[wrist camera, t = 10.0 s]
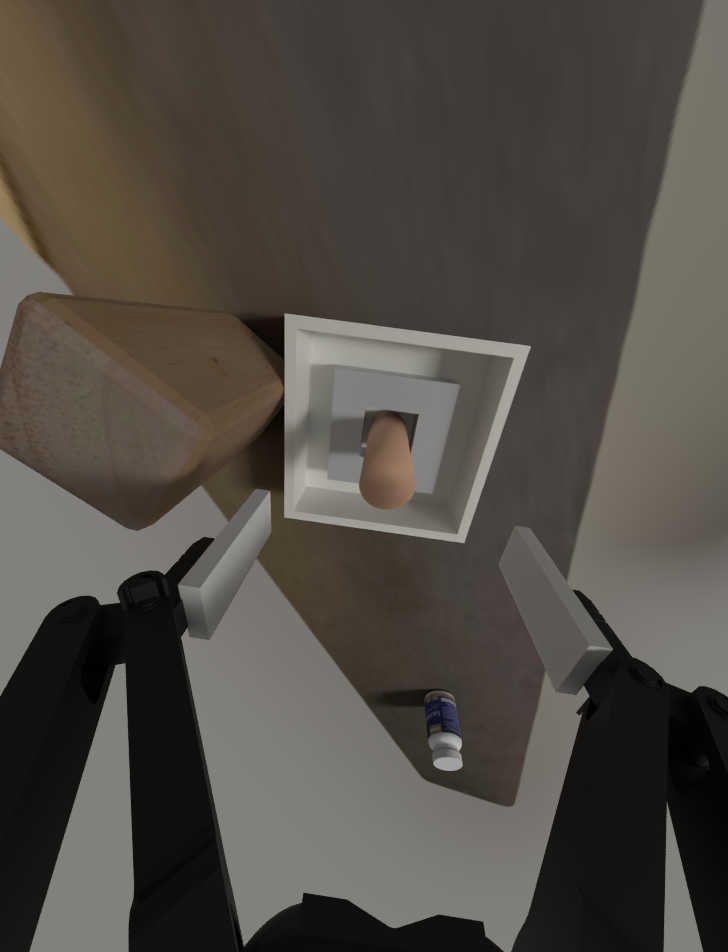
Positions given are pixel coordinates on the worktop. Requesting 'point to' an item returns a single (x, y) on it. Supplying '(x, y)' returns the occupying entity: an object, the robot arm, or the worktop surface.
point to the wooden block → (132, 398)
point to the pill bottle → (443, 730)
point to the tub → (413, 397)
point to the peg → (387, 463)
